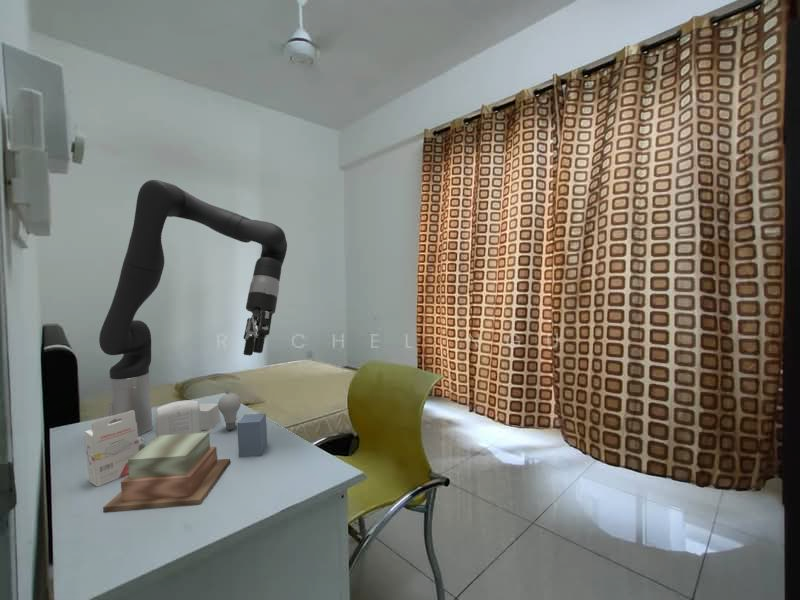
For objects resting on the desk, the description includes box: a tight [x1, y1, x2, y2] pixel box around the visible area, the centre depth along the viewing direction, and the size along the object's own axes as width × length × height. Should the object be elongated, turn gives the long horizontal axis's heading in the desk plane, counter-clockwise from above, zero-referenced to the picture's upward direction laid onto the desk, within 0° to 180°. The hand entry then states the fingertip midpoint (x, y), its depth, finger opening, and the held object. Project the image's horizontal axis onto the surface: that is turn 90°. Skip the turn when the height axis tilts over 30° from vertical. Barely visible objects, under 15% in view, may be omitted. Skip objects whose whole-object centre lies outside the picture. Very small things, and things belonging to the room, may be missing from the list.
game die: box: [138, 436, 146, 450], centre depth 94 cm, size 4×4×3 cm
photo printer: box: [155, 399, 202, 438], centre depth 95 cm, size 10×4×12 cm, turn 123°
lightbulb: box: [217, 392, 242, 431], centre depth 105 cm, size 6×6×11 cm
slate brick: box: [236, 413, 268, 459], centre depth 91 cm, size 6×6×9 cm
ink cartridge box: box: [84, 410, 140, 487], centre depth 81 cm, size 9×5×15 cm, turn 148°
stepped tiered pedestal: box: [102, 431, 231, 513], centre depth 77 cm, size 18×16×9 cm
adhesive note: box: [199, 403, 221, 431], centre depth 108 cm, size 6×6×6 cm
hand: (252, 353), depth 91 cm, fingers open, 8 cm apart
